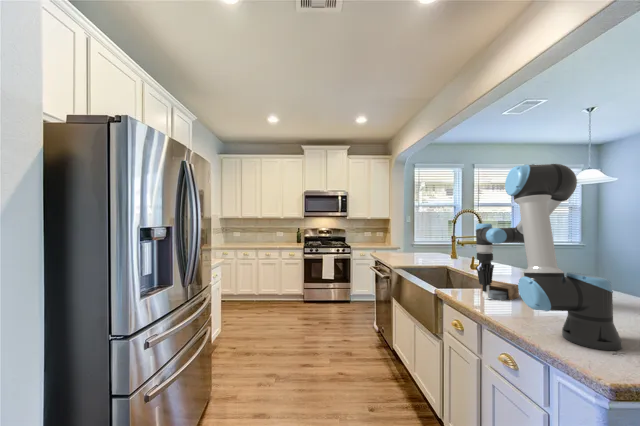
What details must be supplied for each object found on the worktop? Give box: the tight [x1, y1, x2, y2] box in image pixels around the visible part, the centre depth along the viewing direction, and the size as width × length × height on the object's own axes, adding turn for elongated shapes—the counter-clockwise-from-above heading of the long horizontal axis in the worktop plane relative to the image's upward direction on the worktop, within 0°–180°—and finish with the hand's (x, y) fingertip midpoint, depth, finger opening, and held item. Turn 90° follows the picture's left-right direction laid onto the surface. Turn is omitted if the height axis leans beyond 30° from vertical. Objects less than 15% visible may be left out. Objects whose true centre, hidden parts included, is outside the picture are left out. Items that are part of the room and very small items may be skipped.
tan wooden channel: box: [480, 279, 520, 301], centre depth 157 cm, size 8×15×7 cm, turn 31°
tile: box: [488, 289, 509, 302], centre depth 155 cm, size 12×9×3 cm
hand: (486, 297), depth 150 cm, fingers closed
